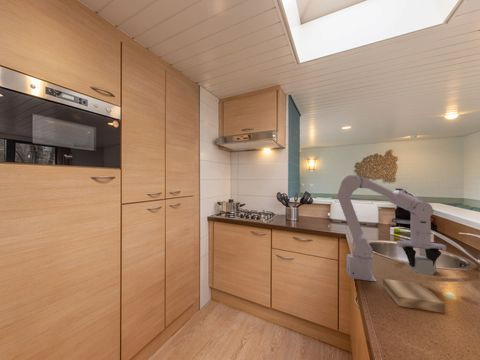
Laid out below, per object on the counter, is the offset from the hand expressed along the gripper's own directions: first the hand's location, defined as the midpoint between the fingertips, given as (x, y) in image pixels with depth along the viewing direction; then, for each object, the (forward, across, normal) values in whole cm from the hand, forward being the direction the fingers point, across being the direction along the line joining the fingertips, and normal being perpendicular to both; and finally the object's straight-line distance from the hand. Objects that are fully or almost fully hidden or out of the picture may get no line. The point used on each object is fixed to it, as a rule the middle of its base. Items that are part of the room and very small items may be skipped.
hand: (420, 266), depth 74 cm
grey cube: (+2, 0, 0) cm, 2 cm away
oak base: (+8, -8, -10) cm, 15 cm away
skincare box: (+8, +11, +17) cm, 22 cm away
